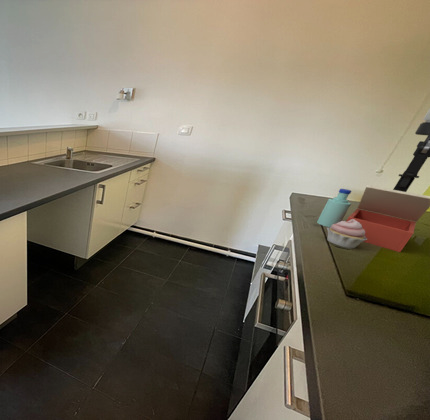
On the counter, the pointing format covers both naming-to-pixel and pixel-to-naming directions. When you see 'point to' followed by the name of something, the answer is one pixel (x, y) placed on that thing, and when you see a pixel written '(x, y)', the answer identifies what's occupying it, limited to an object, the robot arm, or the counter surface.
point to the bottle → (335, 209)
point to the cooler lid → (394, 203)
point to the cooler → (384, 229)
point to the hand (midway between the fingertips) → (396, 195)
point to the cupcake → (346, 234)
